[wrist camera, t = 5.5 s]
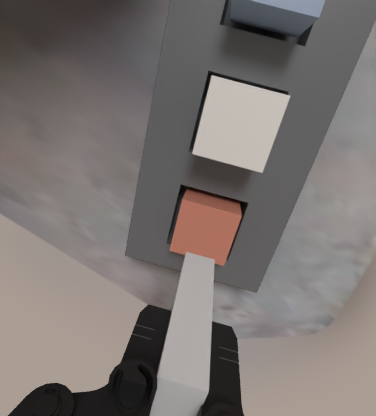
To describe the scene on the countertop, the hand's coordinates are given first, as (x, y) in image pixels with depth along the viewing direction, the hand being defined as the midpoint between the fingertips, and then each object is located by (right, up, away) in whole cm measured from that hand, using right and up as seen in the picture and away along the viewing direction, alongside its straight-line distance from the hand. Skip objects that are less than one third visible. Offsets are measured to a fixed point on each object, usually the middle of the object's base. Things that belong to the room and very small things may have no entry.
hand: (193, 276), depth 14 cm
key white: (+3, +10, +5) cm, 11 cm away
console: (+3, +11, +8) cm, 14 cm away
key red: (+1, +3, +9) cm, 10 cm away
